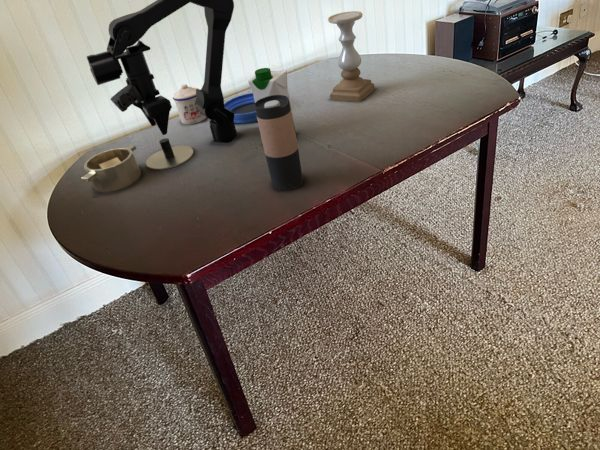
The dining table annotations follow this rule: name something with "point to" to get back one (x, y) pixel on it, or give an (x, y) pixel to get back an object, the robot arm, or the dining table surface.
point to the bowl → (242, 108)
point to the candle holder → (349, 61)
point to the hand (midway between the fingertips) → (159, 129)
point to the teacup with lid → (187, 105)
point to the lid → (169, 156)
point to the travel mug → (279, 141)
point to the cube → (109, 163)
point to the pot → (112, 170)
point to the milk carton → (269, 84)
